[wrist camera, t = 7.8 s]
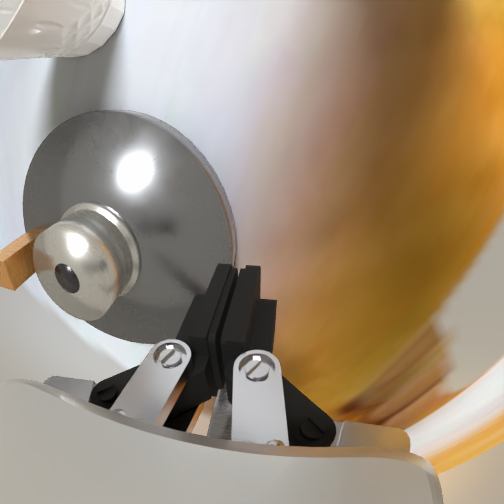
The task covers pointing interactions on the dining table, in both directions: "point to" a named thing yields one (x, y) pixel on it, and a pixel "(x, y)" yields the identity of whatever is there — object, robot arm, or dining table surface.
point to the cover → (87, 260)
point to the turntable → (132, 213)
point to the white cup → (56, 27)
